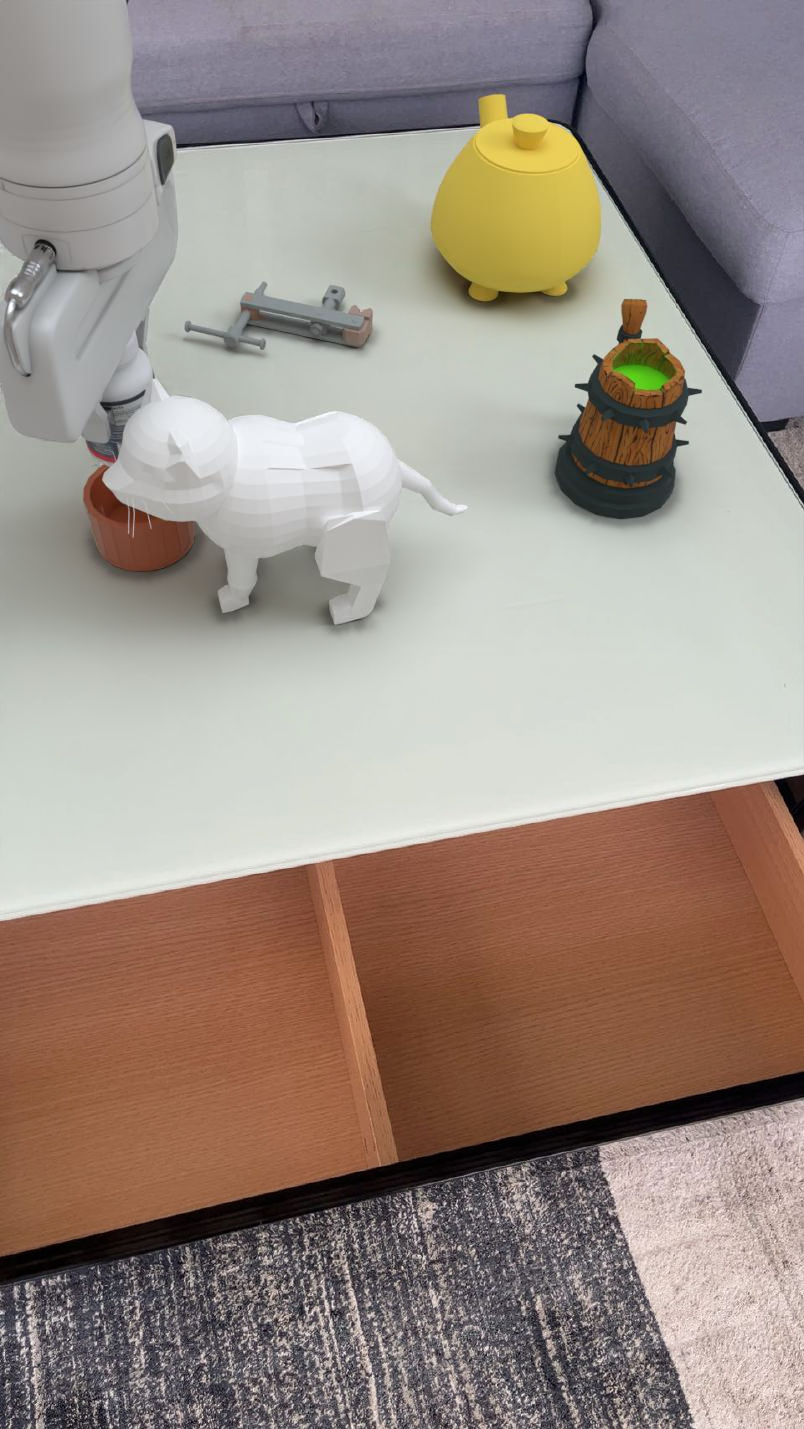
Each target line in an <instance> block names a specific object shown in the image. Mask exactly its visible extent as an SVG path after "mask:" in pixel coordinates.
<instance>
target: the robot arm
mask: <svg viewBox="0 0 804 1429" xmlns="http://www.w3.org/2000/svg"><path fill="white" fill-rule="evenodd" d="M129 1H130V0H0V243H1V245H2V246H3V247H4V248H5V249H6V250H7V252H9V253H10V254H11V255H13V256H14V257H15V258H17V259H19V260H21V261H23V264H22V266H21V269H20V271H19V272H18V274H17V276H16V277H14V278H13V279H12V280H11V281H10V282H9V283H8V286H7V287H6V289H5V293H4V297H3V298H2V300H1V301H0V388H1V393H2V395H3V396H2V397H3V400H4V405H5V409H6V411H7V416H8V420H9V422H10V424H11V426H12V429H14V430H15V431H16V432H17V433H19V434H21V435H23V436H25V437H28V438H32V439H35V440H42V441H46V442H47V441H48V442H54V443H55V442H56V443H63V444H73V443H75V442H77V441H78V440H79V439H80V437H82V438H83V439H84V440H85V439H86V440H87V441H91V442H97V443H103V444H104V443H107V442H108V441H109V439H110V437H111V435H112V433H113V431H114V429H115V427H116V422H115V421H114V413H113V409H112V407H106V406H101V405H100V402H101V400H102V399H103V392H104V390H105V388H106V387H107V385H108V383H109V381H110V379H111V377H112V375H113V373H114V372H115V370H116V368H117V366H118V364H119V362H120V360H121V358H122V356H123V355H124V352H125V347H126V344H127V342H128V340H129V338H130V337H131V335H132V333H133V331H134V330H135V332H136V336H137V341H138V347H139V348H140V349H141V350H143V351H144V352H145V353H146V354H147V356H148V357H149V354H148V348H147V340H148V330H149V320H150V319H149V318H150V305H151V303H152V301H153V300H154V298H155V296H156V294H157V292H158V290H159V288H160V286H161V285H162V283H163V281H164V279H165V277H166V275H167V273H168V271H170V270H169V269H170V268H171V266H172V264H173V262H174V260H175V257H176V253H177V248H178V240H179V222H178V220H179V219H178V206H177V196H176V186H175V177H174V172H173V169H172V168H173V167H174V164H176V160H177V154H178V152H177V150H178V149H177V141H176V135H175V130H174V127H173V126H172V125H170V124H167V123H163V122H159V121H154V120H149V119H144V118H142V115H141V113H140V111H139V109H138V107H137V104H136V101H135V98H134V95H133V89H132V70H133V62H134V44H133V37H132V30H131V23H130V17H129V9H128V5H129Z"/></svg>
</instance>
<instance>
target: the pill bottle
mask: <svg viewBox="0 0 804 1429" xmlns="http://www.w3.org/2000/svg"><path fill="white" fill-rule="evenodd" d="M154 378H156V377H155V371H154V367H153V364H152V361H151V358H149V355H148V356H147V354H146V353H145V352H144V351H143V350H141V349H140V348H139V347H138V341H137V336H136V332H135V330H134V331H133V333H132V335H131V337H130V338H129V340H128V342H127V344H126V347H125V352H124V355H123V356H122V358H121V360H120V362H119V364H118V366H117V368H116V370H115V372H114V373H113V375H112V377H111V379H110V381H109V383H108V385H107V387H106V388H105V390H104V392H103V399H102V400H101V402H100V405H101V406H106V407H112V409H113V413H114V421H115V422H116V427H115V429H114V431H113V433H112V435H111V437H110V439H109V441H108V442H107V443H104V444H103V443H97V442H91V441H87V440H86V439H84V440H85V443H86V447H87V450H88V453H89V454H90V455H91V457H92V458H93V459H94V460H96V462H98V463H101V464H102V465H106V466H109V467H110V466H112V465H113V464H114V463H115V462H116V461H117V459H118V455H119V451H120V449H121V446H122V439H123V432H124V428H125V425H126V423H127V421H128V420H129V418H130V417H131V416H132V415H133V414H134V413H135V412H136V411H137V410H138V409H140V407H141V404H142V400H143V397H144V394H145V391H146V388H147V384H148V382H149V381H151V380H152V379H154ZM111 441H113V442H111ZM115 442H117V443H115ZM118 444H119V446H118ZM119 447H120V449H119ZM107 450H109V451H107ZM111 451H113V452H111ZM113 453H114V455H113ZM114 456H115V457H114ZM115 458H116V460H115ZM103 462H104V463H103ZM105 462H106V463H107V464H108V465H107V464H106V463H105Z"/></svg>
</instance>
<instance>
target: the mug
mask: <svg viewBox="0 0 804 1429" xmlns="http://www.w3.org/2000/svg"><path fill="white" fill-rule="evenodd" d="M620 306H621V307H620V308H621V310H620V311H621V312H620V313H621V319H622V324H621V325H620V327H619V329H618V331H617V336H616V341H617V342H618V343H617V345H616V346H615V345H614V347H613V348H611V350H610V351H609V352H608V353H607V354H606V355H605V356H604V357H603V358H602V357H600V356H598V355H596V354H595V353H593V354H592V355H591V357H592V359H593V361H595V362H596V366H595V368H594V369H593V370H592V372H591V374H590V376H589V378H588V381H587V382H583V383H575V384H574V388H576V389H578V390H582V391H584V392H586V393H587V396H588V399H587V402H586V405H585V406H583V404H581V403H577V404H576V407H577V409H578V410H579V412H580V414H579V416H578V417H577V419H576V421H575V423H574V424H573V426H572V428H571V431H570V433H569V434H559V435H558V436H557V439H558V440H562V441H564V443H563V444H562V446H560V448H559V449H558V454H557V459H556V463H555V469H554V475H555V478H556V480H557V481H556V482H557V483H558V486H559V489H560V490H561V491H562V492H563V493H564V495H566V496H567V498H569V499H570V500H571V501H572V503H574V505H576V506H579V507H581V508H582V509H585V510H587V511H588V512H591V513H593V514H595V515H599V516H603V517H609V518H615V519H620V520H621V519H631V518H639V517H640V518H641V517H644V516H647V515H648V514H650V513H653V512H655V511H657V510H659V509H661V508H662V507H663V505H664V504H665V503H666V502H667V501H668V499H669V498H670V497H671V495H672V493H673V490H674V487H675V482H676V471H677V470H676V468H675V464H674V463H675V459H676V457H677V456H676V455H677V449H678V447H683V446H688V445H690V441H689V440H683V439H677V438H676V433H675V431H676V427H677V423H678V424H681V425H684V426H686V425H687V424H688V421H687V420H686V419H684V417H682V415H683V413H684V411H685V409H686V407H687V405H688V401H689V397H691V396H694V395H699V394H702V393H703V389H700V388H694V387H693V388H692V387H688V383H687V379H686V378H685V375H686V370H685V368H684V366H683V364H682V362H681V361H680V359H679V358H677V356H675V355H674V354H672V352H670V349H669V348H668V346H666V345H665V344H664V343H663V342H662V341H661V339H659V338H642V335H643V329H642V325H643V322H644V320H645V317H646V315H647V313H648V312H647V310H648V303H647V300H646V299H641V298H624V299H623V300H622V303H621V305H620Z"/></svg>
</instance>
